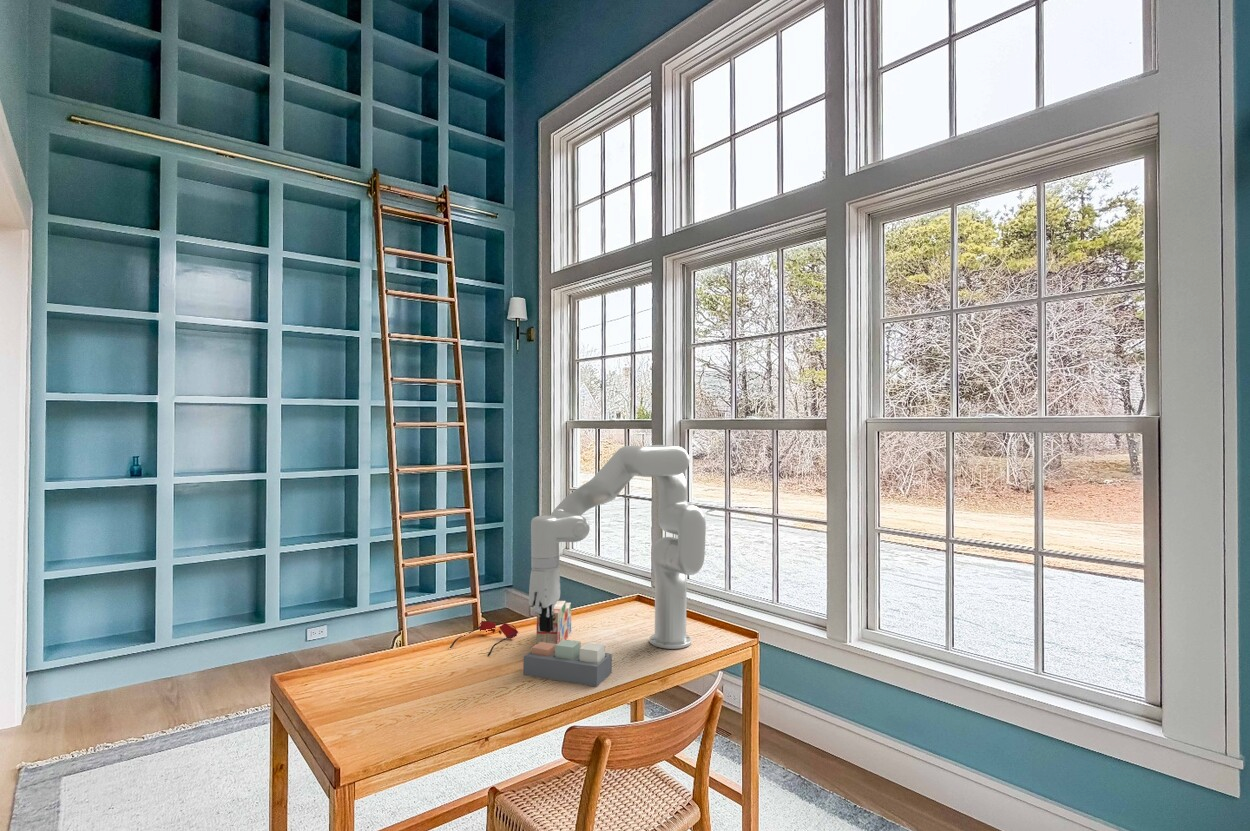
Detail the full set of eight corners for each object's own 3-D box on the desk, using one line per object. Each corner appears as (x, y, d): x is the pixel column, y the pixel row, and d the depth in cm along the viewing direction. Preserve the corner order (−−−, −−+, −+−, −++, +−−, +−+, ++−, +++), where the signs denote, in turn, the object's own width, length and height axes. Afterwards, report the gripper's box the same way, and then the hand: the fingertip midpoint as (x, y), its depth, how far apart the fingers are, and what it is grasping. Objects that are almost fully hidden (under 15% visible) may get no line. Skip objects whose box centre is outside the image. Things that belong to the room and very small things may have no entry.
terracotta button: (540, 660, 181) (540, 641, 181) (556, 662, 179) (556, 644, 179) (531, 666, 176) (531, 647, 176) (548, 669, 174) (548, 650, 174)
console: (541, 662, 184) (541, 643, 184) (611, 672, 176) (611, 653, 176) (523, 674, 174) (523, 655, 174) (596, 686, 167) (597, 666, 167)
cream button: (587, 661, 176) (587, 642, 176) (604, 664, 174) (604, 644, 174) (579, 667, 171) (579, 648, 171) (597, 670, 170) (597, 651, 170)
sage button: (563, 657, 178) (563, 639, 178) (580, 660, 177) (580, 641, 177) (555, 664, 174) (555, 645, 174) (572, 666, 172) (572, 647, 172)
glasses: (519, 640, 203) (519, 624, 203) (488, 658, 188) (488, 640, 188) (480, 634, 208) (480, 618, 208) (447, 651, 193) (447, 634, 193)
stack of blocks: (552, 631, 211) (552, 592, 211) (571, 631, 211) (571, 592, 211) (536, 654, 190) (536, 611, 190) (557, 655, 189) (558, 612, 189)
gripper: (545, 555, 186) (546, 621, 186) (519, 567, 172) (520, 638, 172) (570, 557, 184) (570, 623, 184) (545, 569, 170) (545, 641, 170)
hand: (546, 630), depth 178 cm, fingers closed
